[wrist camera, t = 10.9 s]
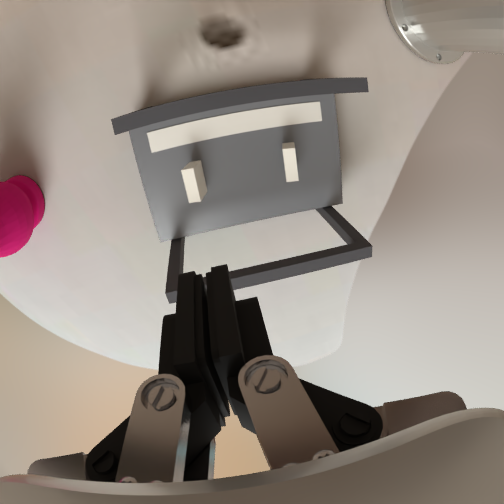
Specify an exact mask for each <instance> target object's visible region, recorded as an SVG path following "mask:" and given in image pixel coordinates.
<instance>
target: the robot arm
mask: <svg viewBox="0 0 504 504" xmlns="http://www.w3.org/2000/svg"><path fill="white" fill-rule="evenodd" d="M386 7H387V11H388V15H389V17H390V20H391V23H392V25H393V27H394V28H395V30H396V32H397V34H398V35H399V37H400V38H401V39H402V41H403V42H404V43H405V44H406V45H407V46H408V48H409V49H410V50H412V51H413V52H414V53H415V54H416V55H418V56H419V57H421V58H423V59H424V60H426V61H429V62H432V63H437V64H449V63H453V62H455V61H456V60H458V59H459V58H460V57H461V56H462V55H463V54H464V52H481V53H495V54H504V0H386ZM206 286H207V290H206V287H205V283H204V280H203V277H202V274H199V275H196V273H195V271H192V272H188V273H183V274H179V275H178V287H177V301H176V313H175V314H170V315H165V316H164V317H163V324H162V335H161V346H160V358H159V372H158V375H155V376H153V377H150V378H149V379H147V380H146V381H144V383H142V385H141V386H140V387H139V389H138V391H137V393H136V396H135V400H134V404H133V407H132V411H131V415H130V416H129V417H128V418H127V419H125V420H124V421H123V422H122V423H121V424H120V425H119V426H118V427H117V428H116V429H114V430H113V431H112V432H111V433H110V434H109V435H108V436H106V438H104V439H103V440H102V441H101V442H100V443H99V444H97V445H96V446H95V447H94V448H93V449H92V450H91V452H90V453H89V454H84V453H83V452H81V453H76V454H70V455H65V456H59V457H53V458H47V459H40V460H37V461H35V462H34V463H32V464H31V465H30V467H29V469H28V474H17V475H9V476H4V477H1V478H0V504H504V411H503V410H500V409H495V408H475V409H467V408H466V405H465V403H464V401H463V400H462V398H461V397H459V396H458V395H457V394H456V393H453V392H449V391H446V392H439V393H434V394H429V395H425V396H420V397H415V398H409V399H404V400H398V401H393V402H387V403H384V404H383V406H379V407H371V406H369V405H367V404H364V403H362V402H359V401H356V400H353V399H351V398H348V397H345V396H342V395H340V394H337V393H334V392H332V391H329V390H327V389H324V388H322V387H319V386H316V385H314V384H311V383H309V382H306V381H304V380H301V379H299V378H298V377H297V375H296V373H295V371H294V369H293V367H292V366H291V365H290V364H289V362H288V361H286V360H285V359H283V358H281V357H278V356H274V355H273V353H272V350H271V346H270V342H269V339H268V335H267V331H266V328H265V324H264V320H263V317H262V313H261V309H260V306H259V302H258V299H257V297H254V298H249V299H244V300H240V301H236V300H235V296H234V291H233V287H232V283H231V279H230V275H229V271H228V266H227V264H225V265H221V266H216V267H211V272H208V273H206ZM228 400H229V403H230V405H231V407H232V410H233V412H234V414H235V415H237V416H238V418H239V421H240V423H241V425H242V427H244V428H246V429H248V430H249V431H251V432H253V433H255V434H256V435H257V438H258V440H259V443H260V445H261V448H262V450H263V453H264V455H265V458H266V460H267V463H268V465H269V467H270V470H269V471H264V472H258V473H253V474H247V475H240V476H234V477H226V478H219V479H213V477H214V460H215V445H216V443H215V436H216V435H217V434H218V433H219V432H220V431H221V426H226V425H225V417H227V416H230V409H229V403H228Z"/></svg>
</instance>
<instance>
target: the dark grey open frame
mask: <svg viewBox="0 0 504 504" xmlns="http://www.w3.org/2000/svg"><path fill="white" fill-rule="evenodd" d="M356 92H368V82H367V78H325V79H308V80H301V81H291V82H282V83H273V84H265V85H258V86H251V87H244V88H238V89H232V90H226V91H221V92H215V93H210V94H205V95H200V96H196V97H191V98H187V99H182V100H178V101H174V102H170V103H166V104H162V105H158V106H154V107H149V108H145V109H141V110H138V111H135V112H132V113H129V114H126V115H123V116H120V117H117V118H114V119H111V121H112V125H113V129H114V133H115V135H117V134H120V133H123V132H126V131H130V130H133V129H136V128H140V127H143V126H147V125H151V124H154V123H158V122H162V121H166V120H170V119H174V118H178V117H182V116H186V115H191V114H195V113H200V112H205V111H209V110H214V109H219V108H225V107H230V106H236V105H242V104H248V103H254V102H261V101H268V100H275V99H283V98H291V97H300V96H311V95H322V94H336V93H356ZM316 210H317V211H318V212H319V213H320V214H321V216H322V217H323V218H324V219H325V220H326V221H327V222H328V223H329V224H330V225H331V226H332V228H333V229H334V230H335V231H336V232H337V233H338V234H339V235H340V236H341V238H342V239H343V240H344V241H345V242H346V243H347V244H348V245H344V246H339V247H335V248H331V249H327V250H322V251H318V252H314V253H309V254H305V255H301V256H296V257H292V258H288V259H283V260H279V261H274V262H270V263H265V264H261V265H257V266H252V267H248V268H243V269H239V270H234V271H230V272H229V275H230V279H231V283H232V287H233V290H236V289H240V288H245V287H249V286H254V285H258V284H262V283H267V282H271V281H275V280H280V279H284V278H288V277H292V276H297V275H301V274H305V273H309V272H313V271H317V270H321V269H326V268H330V267H334V266H338V265H342V264H346V263H350V262H353V261H357V260H361V259H365V258H369V257H372V245H371V244H370V243H369V242H368V241H367V240H366V239H365V238H364V237H363V236H362V235H361V234H360V233H359V232H358V231H357V230H356V229H355V228H354V227H353V226H352V225H351V224H350V223H349V222H348V221H347V220H346V219H345V218H343V217H342V216H341V215H340V214H339V213H338V212H337V211H336V210H335V209H334V208H333V207H332V206H327V207H322V208H317V209H316ZM184 241H185V237H181V238H177V239H173V240H172V241H171V249H170V256H169V265H168V273H167V282H166V292H165V294H166V296H167V299H168V301H169V304H170V303H175V302H176V301H177V287H178V275H179V274H183V262H184ZM203 280H204V283H205V287H206V290H207V286H206V277H203Z"/></svg>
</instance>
